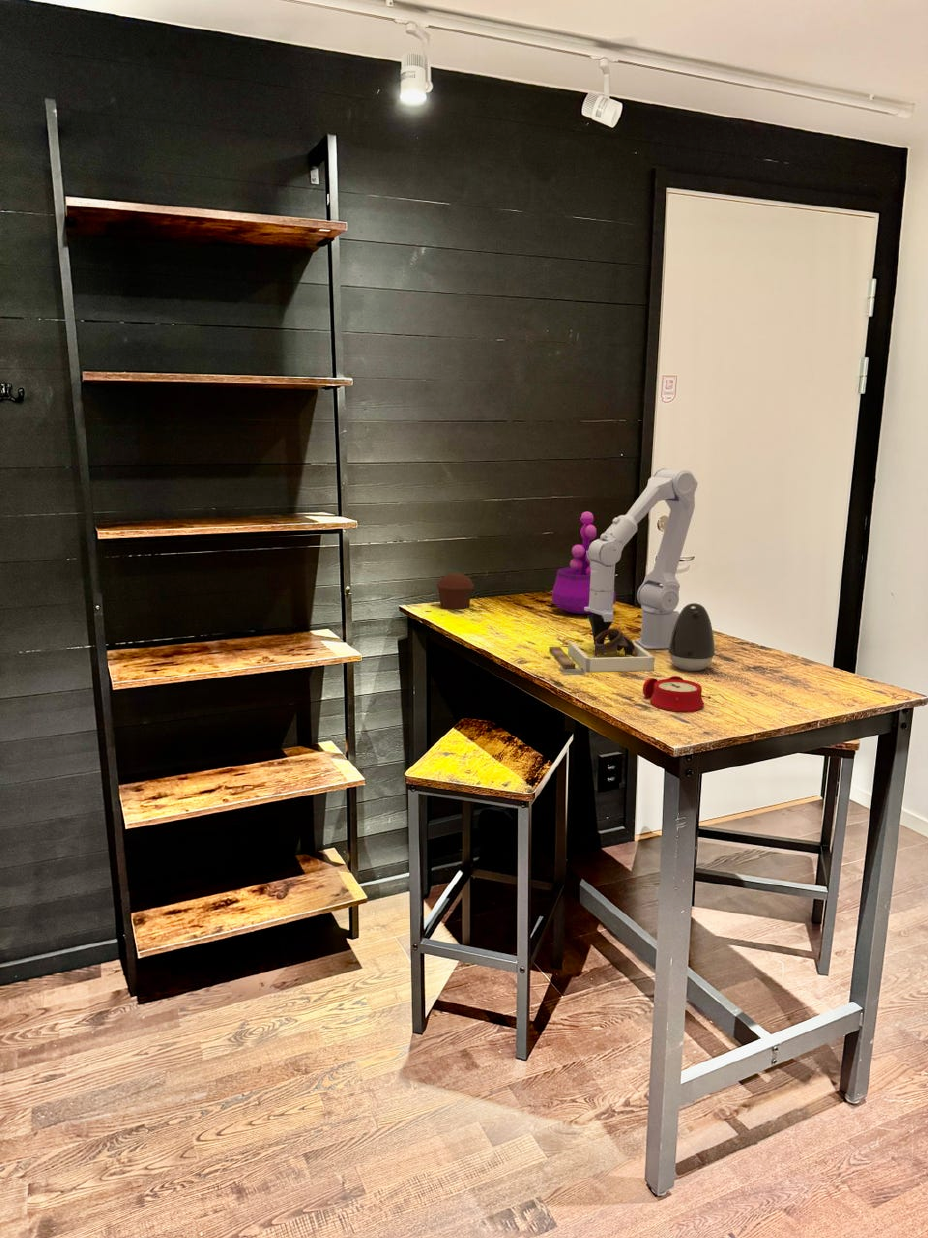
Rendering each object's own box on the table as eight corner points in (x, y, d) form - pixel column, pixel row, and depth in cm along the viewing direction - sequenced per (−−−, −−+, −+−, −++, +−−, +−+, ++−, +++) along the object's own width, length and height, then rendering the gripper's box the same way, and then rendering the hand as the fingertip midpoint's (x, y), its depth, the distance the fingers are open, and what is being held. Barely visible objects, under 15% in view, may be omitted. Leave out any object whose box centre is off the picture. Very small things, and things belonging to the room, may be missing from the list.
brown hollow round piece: (640, 666, 198) (626, 638, 195) (602, 680, 201) (588, 652, 198) (637, 641, 209) (624, 614, 206) (602, 655, 212) (588, 628, 209)
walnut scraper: (544, 653, 209) (544, 647, 208) (564, 652, 209) (564, 646, 209) (563, 676, 189) (563, 669, 189) (585, 675, 190) (585, 669, 189)
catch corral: (631, 652, 209) (632, 640, 208) (653, 670, 193) (654, 657, 193) (568, 653, 207) (568, 641, 206) (585, 672, 191) (585, 659, 191)
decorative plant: (549, 605, 263) (553, 507, 256) (610, 606, 262) (615, 508, 256) (553, 618, 245) (557, 514, 238) (618, 620, 244) (624, 515, 237)
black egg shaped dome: (669, 673, 191) (674, 607, 188) (665, 661, 201) (669, 598, 198) (716, 675, 190) (721, 609, 186) (709, 663, 200) (714, 599, 197)
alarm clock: (671, 699, 162) (635, 662, 175) (665, 727, 165) (630, 688, 177) (718, 694, 165) (679, 658, 178) (712, 722, 168) (674, 684, 181)
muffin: (428, 607, 259) (428, 574, 256) (450, 601, 267) (451, 570, 265) (459, 612, 252) (459, 579, 249) (481, 606, 260) (482, 574, 258)
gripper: (578, 584, 212) (575, 637, 215) (593, 595, 198) (590, 652, 201) (605, 584, 213) (602, 636, 216) (623, 595, 199) (619, 651, 202)
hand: (599, 644), depth 208 cm, fingers closed
